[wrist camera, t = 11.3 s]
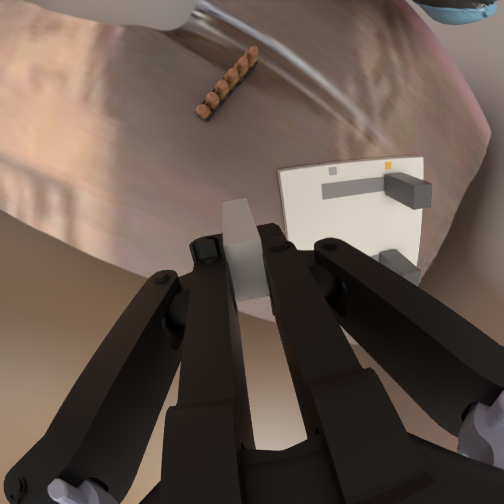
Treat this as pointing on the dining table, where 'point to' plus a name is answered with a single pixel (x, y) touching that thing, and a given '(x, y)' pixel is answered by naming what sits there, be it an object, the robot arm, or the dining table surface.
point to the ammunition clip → (228, 84)
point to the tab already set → (400, 265)
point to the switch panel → (351, 205)
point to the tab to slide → (408, 190)
